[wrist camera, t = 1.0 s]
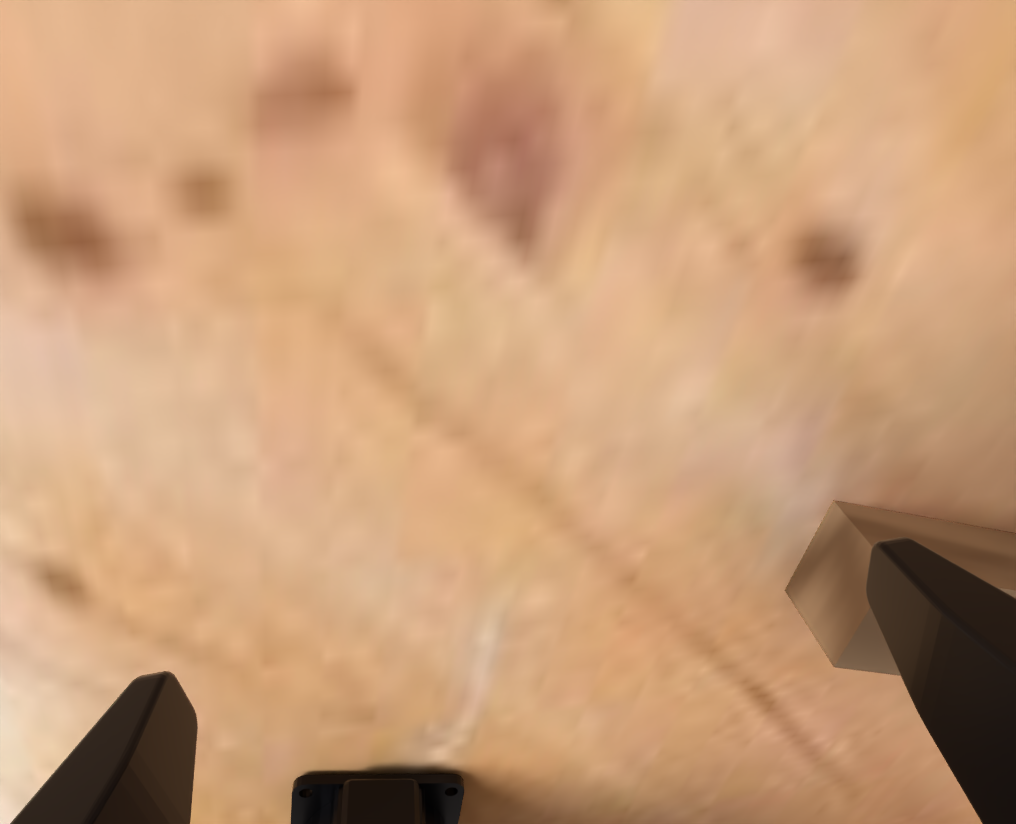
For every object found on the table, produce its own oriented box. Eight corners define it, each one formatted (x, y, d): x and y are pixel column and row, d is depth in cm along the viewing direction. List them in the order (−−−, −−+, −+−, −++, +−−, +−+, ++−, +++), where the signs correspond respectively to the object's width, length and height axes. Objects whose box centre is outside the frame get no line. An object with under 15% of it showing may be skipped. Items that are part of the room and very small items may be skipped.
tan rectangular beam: (1043, 624, 32) (1122, 703, 29) (781, 585, 29) (833, 667, 26) (1101, 545, 30) (1193, 619, 27) (829, 496, 28) (892, 570, 24)
